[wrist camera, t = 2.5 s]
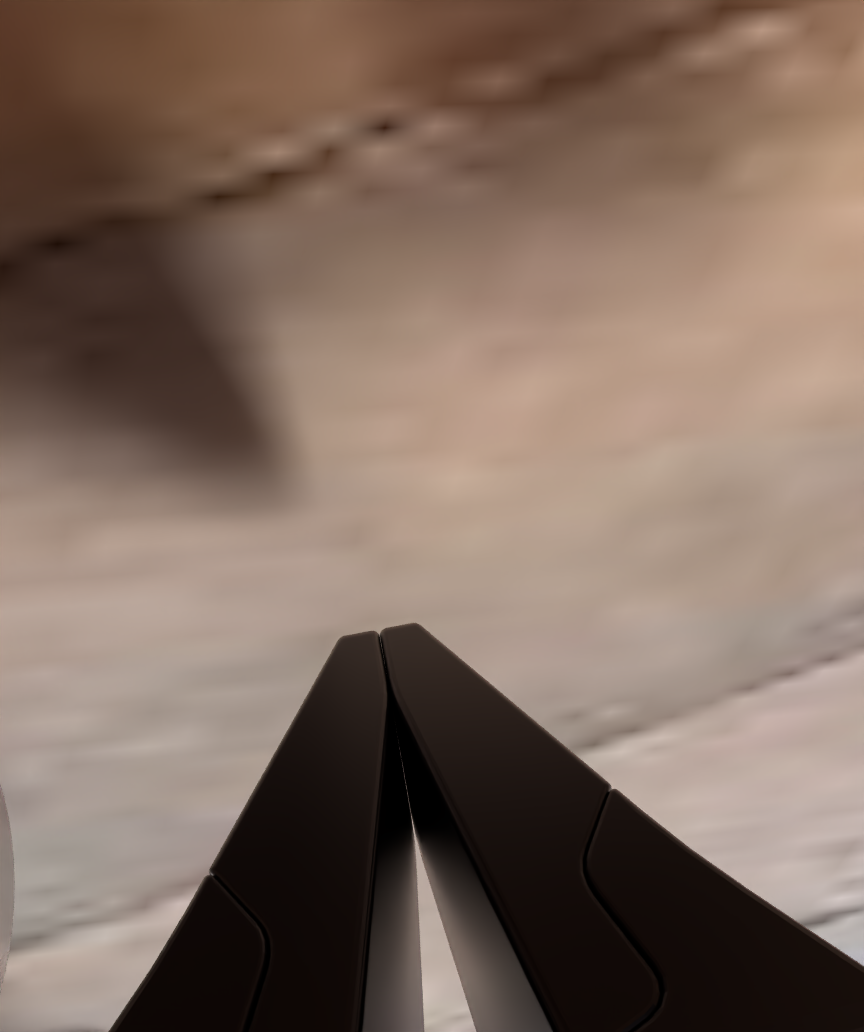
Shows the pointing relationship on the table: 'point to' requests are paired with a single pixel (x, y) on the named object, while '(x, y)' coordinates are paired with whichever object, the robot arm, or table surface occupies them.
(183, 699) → the table surface
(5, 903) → the air tube
